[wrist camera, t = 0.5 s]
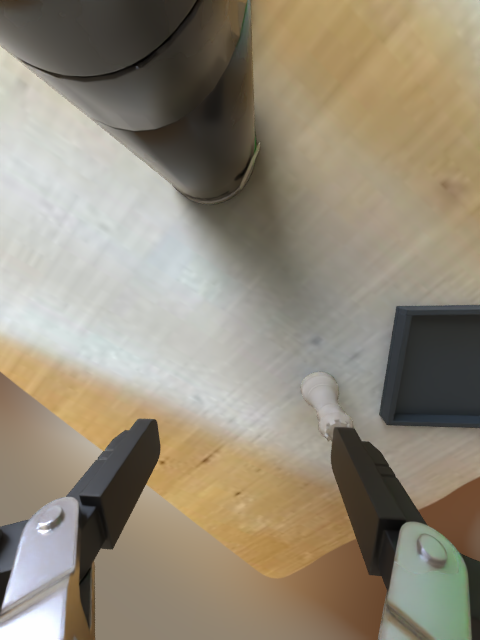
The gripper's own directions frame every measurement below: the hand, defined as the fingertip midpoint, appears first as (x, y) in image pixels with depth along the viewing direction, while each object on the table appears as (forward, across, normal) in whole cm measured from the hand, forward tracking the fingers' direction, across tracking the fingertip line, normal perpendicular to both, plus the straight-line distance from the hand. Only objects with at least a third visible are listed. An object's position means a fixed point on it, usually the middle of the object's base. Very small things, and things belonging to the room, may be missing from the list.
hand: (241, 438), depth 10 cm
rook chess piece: (+18, -8, +8) cm, 21 cm away
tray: (+18, -26, +4) cm, 32 cm away
